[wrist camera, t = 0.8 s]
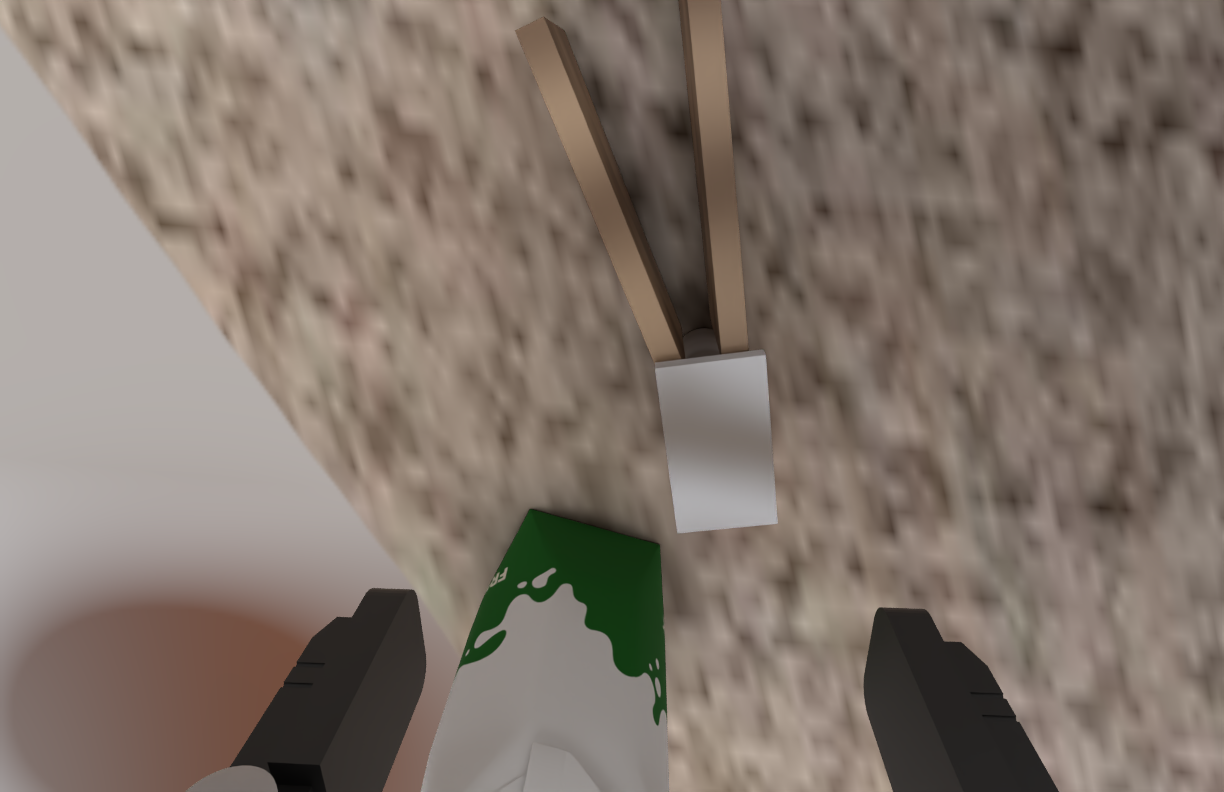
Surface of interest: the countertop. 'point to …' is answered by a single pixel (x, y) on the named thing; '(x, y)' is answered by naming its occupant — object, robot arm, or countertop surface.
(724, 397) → the tong frame
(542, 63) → the tong arm
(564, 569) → the milk carton
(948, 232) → the countertop surface
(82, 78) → the countertop surface
